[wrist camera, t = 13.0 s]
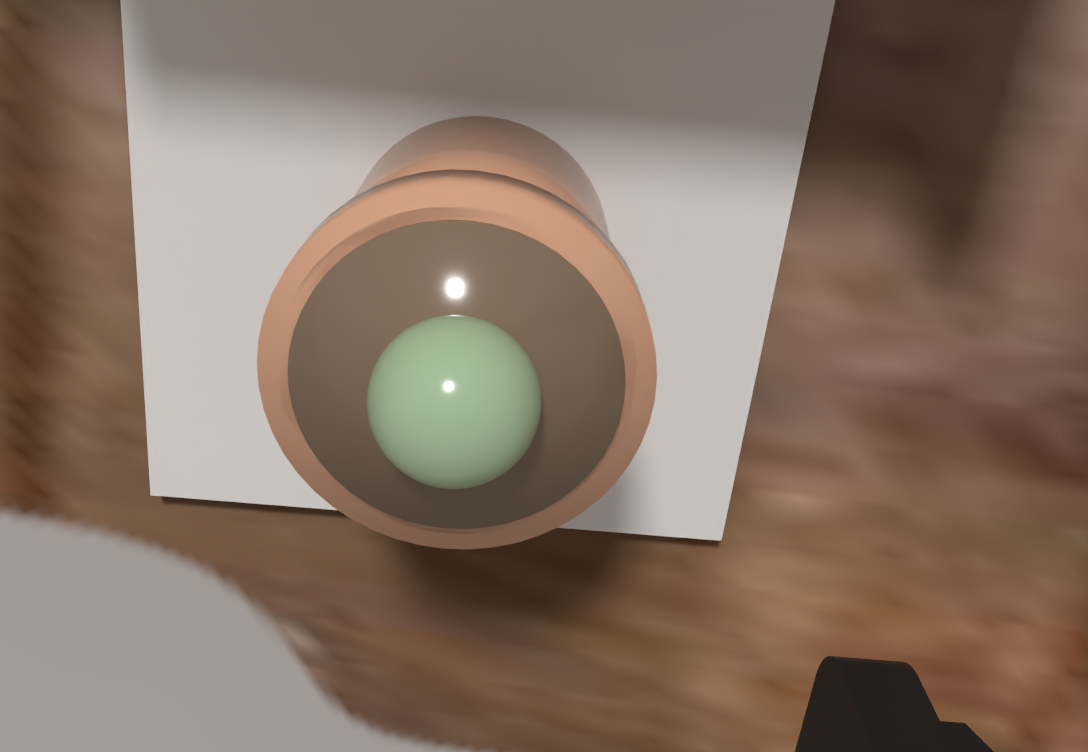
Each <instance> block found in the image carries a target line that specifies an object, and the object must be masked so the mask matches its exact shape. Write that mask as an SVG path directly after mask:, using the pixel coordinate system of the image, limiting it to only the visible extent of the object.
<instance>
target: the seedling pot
mask: <svg viewBox="0 0 1088 752" xmlns="http://www.w3.org/2000/svg"><path fill="white" fill-rule="evenodd" d="M257 372H258V385H259V391H260V395H261V400H262V404H263V409H264V412H265V415H266V417H267V420H268V423H269V425H270V428H271V431H272V433H273V435H274V437H275V439H276V441H277V442H278V444H279V446H280V448H281V450H282V452H283V454H284V455H285V456H286V458H287V459H288V461H289V462H290V463H291V465H292V466H293V468H294V469H295V470H296V472H297V473H298V474H299V475H300V476H301V477H302V479H303V480H304V481H305V482H306V483H307V484H308V485H309V486H310V487H311V488H312V489H313V490H314V491H315V492H316V493H317V494H318V495H319V496H321V497H322V498H323V499H324V500H325V501H326V502H328V503H329V504H330V505H331V506H332V507H334V508H335V509H337V510H338V511H340V512H341V513H343V514H344V515H346V516H347V517H349V518H350V519H352V520H354V521H356V522H358V523H360V524H362V525H364V526H366V527H367V528H369V529H371V530H373V531H376V532H379V533H381V534H384V535H386V536H389V537H392V538H394V539H397V540H401V541H405V542H409V543H413V544H417V545H421V546H428V547H435V548H442V549H480V548H493V547H498V546H503V545H508V544H513V543H517V542H521V541H524V540H527V539H530V538H533V537H537V536H539V535H542V534H544V533H546V532H548V531H551V530H553V529H555V528H557V527H560V526H561V525H563V524H565V523H566V522H568V521H570V520H571V519H573V518H575V517H576V516H578V515H580V514H581V513H582V512H584V511H585V510H586V509H588V508H589V507H590V506H591V505H593V504H594V503H595V502H597V501H598V500H599V499H600V498H601V497H602V496H603V495H604V494H605V493H606V492H607V491H608V490H609V489H610V488H611V487H612V486H613V485H614V484H615V483H616V482H617V480H618V479H619V478H620V476H621V475H622V474H623V472H624V471H625V470H626V469H627V467H628V466H629V464H630V463H631V461H632V459H633V457H634V456H635V454H636V452H637V450H638V449H639V447H640V445H641V443H642V440H643V438H644V435H645V433H646V430H647V428H648V425H649V422H650V418H651V414H652V410H653V406H654V402H655V393H656V383H657V365H656V351H655V346H654V341H653V335H652V330H651V327H650V323H649V319H648V316H647V312H646V309H645V305H644V302H643V300H642V297H641V294H640V291H639V288H638V285H637V283H636V281H635V279H634V277H633V275H632V273H631V271H630V269H629V267H628V265H627V263H626V262H625V260H624V259H623V257H622V256H621V254H620V253H619V252H618V250H617V249H616V247H615V246H614V244H613V243H612V242H611V241H610V237H609V232H608V228H607V224H606V219H605V215H604V211H603V208H602V205H601V202H600V199H599V197H598V194H597V192H596V190H595V188H594V186H593V184H592V182H591V180H590V179H589V178H588V176H587V175H586V173H585V172H584V170H583V169H582V167H581V166H580V165H579V164H578V163H577V162H576V161H575V159H574V158H573V157H572V156H571V155H570V154H569V153H568V152H567V151H566V150H564V149H563V148H562V147H561V146H560V145H558V144H557V143H556V142H555V141H553V140H552V139H550V138H548V137H547V136H545V135H544V134H542V133H540V132H538V131H536V130H534V129H532V128H530V127H528V126H526V125H523V124H519V123H516V122H513V121H510V120H506V119H500V118H495V117H484V116H467V117H456V118H451V119H447V120H442V121H438V122H435V123H432V124H430V125H427V126H424V127H422V128H420V129H418V130H416V131H414V132H412V133H411V134H409V135H407V136H405V137H404V138H403V139H401V140H400V141H398V142H397V143H396V144H394V145H393V146H392V147H391V148H390V149H389V150H388V151H387V152H386V153H385V154H384V155H383V156H381V157H380V159H379V160H378V161H377V162H376V164H375V165H374V166H373V168H372V169H371V170H370V172H369V173H368V175H367V176H366V178H365V180H364V181H363V183H362V185H361V186H360V188H359V190H358V191H357V193H356V194H355V196H354V198H352V199H350V200H349V201H347V202H346V203H345V204H343V205H342V206H341V207H339V208H338V209H336V210H335V211H334V212H332V213H331V214H330V215H329V216H328V217H327V218H326V219H325V220H324V221H323V222H322V223H321V224H320V225H319V226H318V227H317V228H316V229H314V230H313V232H312V233H311V234H310V236H309V237H308V238H307V239H306V241H305V242H304V243H303V245H302V246H301V247H300V249H299V250H298V251H297V253H296V254H295V256H294V257H293V259H292V260H291V262H290V263H289V265H288V266H287V268H286V269H285V271H284V272H283V274H282V276H281V278H280V279H279V281H278V283H277V285H276V287H275V288H274V290H273V292H272V294H271V297H270V300H269V302H268V305H267V308H266V310H265V313H264V316H263V320H262V325H261V329H260V334H259V338H258V352H257Z"/></svg>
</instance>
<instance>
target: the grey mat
mask: <svg viewBox="0 0 1088 752" xmlns="http://www.w3.org/2000/svg"><path fill="white" fill-rule="evenodd" d="M120 2H121V19H122V35H123V51H124V68H125V84H126V101H127V117H128V133H129V150H130V166H131V182H132V199H133V215H134V231H135V248H136V264H137V281H138V297H139V313H140V330H141V346H142V362H143V379H144V395H145V411H146V428H147V444H148V461H149V477H150V493H151V495H153V496H166V497H179V498H191V499H204V500H216V501H229V502H241V503H254V504H266V505H279V506H291V507H304V508H317V509H329V510H337V509H335V508H334V507H332V506H331V505H330V504H329V503H328V502H326V501H325V500H324V499H323V498H322V497H321V496H319V495H318V494H317V493H316V492H315V491H314V490H313V489H312V488H311V487H310V486H309V485H308V484H307V483H306V482H305V481H304V480H303V479H302V477H301V476H300V475H299V474H298V473H297V472H296V470H295V469H294V468H293V466H292V465H291V463H290V462H289V461H288V459H287V458H286V456H285V455H284V454H283V452H282V450H281V448H280V446H279V444H278V442H277V441H276V439H275V437H274V435H273V433H272V431H271V428H270V425H269V423H268V420H267V417H266V415H265V412H264V409H263V404H262V400H261V395H260V391H259V385H258V372H257V352H258V338H259V334H260V329H261V325H262V320H263V316H264V313H265V310H266V308H267V305H268V302H269V300H270V297H271V294H272V292H273V290H274V288H275V287H276V285H277V283H278V281H279V279H280V278H281V276H282V274H283V272H284V271H285V269H286V268H287V266H288V265H289V263H290V262H291V260H292V259H293V257H294V256H295V254H296V253H297V251H298V250H299V249H300V247H301V246H302V245H303V243H304V242H305V241H306V239H307V238H308V237H309V236H310V234H311V233H312V232H313V230H314V229H316V228H317V227H318V226H319V225H320V224H321V223H322V222H323V221H324V220H325V219H326V218H327V217H328V216H329V215H330V214H331V213H332V212H334V211H335V210H336V209H338V208H339V207H341V206H342V205H343V204H345V203H346V202H347V201H349V200H350V199H352V198H354V196H355V194H356V193H357V191H358V190H359V188H360V186H361V185H362V183H363V181H364V180H365V178H366V176H367V175H368V173H369V172H370V170H371V169H372V168H373V166H374V165H375V164H376V162H377V161H378V160H379V159H380V157H381V156H383V155H384V154H385V153H386V152H387V151H388V150H389V149H390V148H391V147H392V146H393V145H394V144H396V143H397V142H398V141H400V140H401V139H403V138H404V137H405V136H407V135H409V134H411V133H412V132H414V131H416V130H418V129H420V128H422V127H424V126H427V125H430V124H432V123H435V122H438V121H442V120H447V119H451V118H456V117H467V116H484V117H495V118H500V119H506V120H510V121H513V122H516V123H519V124H523V125H526V126H528V127H530V128H532V129H534V130H536V131H538V132H540V133H542V134H544V135H545V136H547V137H548V138H550V139H552V140H553V141H555V142H556V143H557V144H558V145H560V146H561V147H562V148H563V149H564V150H566V151H567V152H568V153H569V154H570V155H571V156H572V157H573V158H574V159H575V161H576V162H577V163H578V164H579V165H580V166H581V167H582V169H583V170H584V172H585V173H586V175H587V176H588V178H589V179H590V180H591V182H592V184H593V186H594V188H595V190H596V192H597V194H598V197H599V199H600V202H601V205H602V208H603V211H604V215H605V219H606V224H607V228H608V232H609V237H610V241H611V242H612V243H613V244H614V246H615V247H616V249H617V250H618V252H619V253H620V254H621V256H622V257H623V259H624V260H625V262H626V263H627V265H628V267H629V269H630V271H631V273H632V275H633V277H634V279H635V281H636V283H637V285H638V288H639V291H640V294H641V297H642V300H643V302H644V305H645V309H646V312H647V316H648V319H649V323H650V327H651V330H652V335H653V341H654V346H655V351H656V365H657V383H656V393H655V402H654V406H653V410H652V414H651V418H650V422H649V425H648V428H647V430H646V433H645V435H644V438H643V440H642V443H641V445H640V447H639V449H638V450H637V452H636V454H635V456H634V457H633V459H632V461H631V463H630V464H629V466H628V467H627V469H626V470H625V471H624V472H623V474H622V475H621V476H620V478H619V479H618V480H617V482H616V483H615V484H614V485H613V486H612V487H611V488H610V489H609V490H608V491H607V492H606V493H605V494H604V495H603V496H602V497H601V498H600V499H599V500H598V501H597V502H595V503H594V504H593V505H591V506H590V507H589V508H588V509H586V510H585V511H584V512H582V513H581V514H580V515H578V516H576V517H575V518H573V519H571V520H570V521H568V522H566V523H565V524H563V525H561V526H560V527H557V528H567V529H580V530H593V531H605V532H618V533H630V534H643V535H655V536H668V537H680V538H693V539H705V540H718V541H721V540H722V535H723V530H724V525H725V521H726V516H727V511H728V506H729V502H730V497H731V492H732V488H733V483H734V478H735V473H736V469H737V464H738V459H739V454H740V450H741V445H742V440H743V436H744V431H745V426H746V421H747V417H748V412H749V407H750V402H751V398H752V393H753V388H754V383H755V379H756V374H757V369H758V365H759V360H760V355H761V350H762V346H763V341H764V336H765V331H766V327H767V322H768V317H769V312H770V308H771V303H772V298H773V294H774V289H775V284H776V279H777V275H778V270H779V265H780V260H781V256H782V251H783V246H784V241H785V237H786V232H787V227H788V223H789V218H790V213H791V208H792V204H793V199H794V194H795V189H796V185H797V180H798V175H799V170H800V166H801V161H802V156H803V152H804V147H805V142H806V137H807V133H808V128H809V123H810V118H811V114H812V109H813V104H814V100H815V95H816V90H817V85H818V81H819V76H820V71H821V66H822V62H823V57H824V52H825V47H826V43H827V38H828V33H829V29H830V24H831V19H832V14H833V10H834V5H835V0H120Z"/></svg>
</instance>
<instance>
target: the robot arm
mask: <svg viewBox="0 0 1088 752" xmlns="http://www.w3.org/2000/svg"><path fill="white" fill-rule="evenodd" d="M795 752H993V751H992V750H991V749H990V748H989V747H988V746H987V745H986V744H985V743H984V742H983V741H982V740H981V739H980V738H979V737H978V736H977V735H976V734H975V733H974V732H973V731H972V730H971V729H970V728H969V727H968V726H967V725H966V724H965V723H956V722H943V721H940V720H939V718H938V716H937V714H936V712H935V710H934V708H933V706H932V704H931V702H930V700H929V698H928V696H927V694H926V692H925V690H924V688H923V686H922V684H921V682H920V679H919V677H918V675H917V674H916V672H915V670H914V669H913V668H912V667H911V666H910V665H909V664H908V663H905V662H897V661H885V660H872V659H860V658H847V657H835V656H828V657H826V658H825V659H824V660H823V661H822V662H821V664H820V666H819V668H818V671H817V674H816V677H815V681H814V685H813V688H812V692H811V695H810V699H809V703H808V706H807V710H806V713H805V717H804V721H803V724H802V728H801V732H800V735H799V739H798V742H797V746H796V750H795Z"/></svg>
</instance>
